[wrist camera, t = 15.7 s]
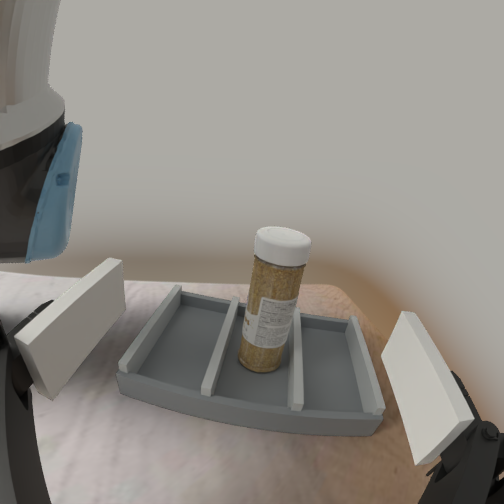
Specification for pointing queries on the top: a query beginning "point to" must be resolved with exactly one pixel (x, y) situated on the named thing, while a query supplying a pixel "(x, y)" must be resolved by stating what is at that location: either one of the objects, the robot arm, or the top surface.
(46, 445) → the top surface
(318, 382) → the tray
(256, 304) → the spice jar
